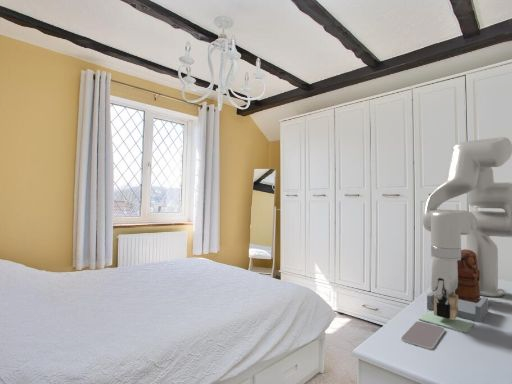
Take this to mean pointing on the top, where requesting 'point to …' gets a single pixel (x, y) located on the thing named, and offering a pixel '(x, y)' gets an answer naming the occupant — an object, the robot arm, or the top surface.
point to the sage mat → (447, 322)
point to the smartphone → (423, 335)
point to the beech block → (452, 302)
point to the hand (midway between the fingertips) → (446, 313)
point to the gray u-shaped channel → (465, 308)
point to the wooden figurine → (468, 277)
